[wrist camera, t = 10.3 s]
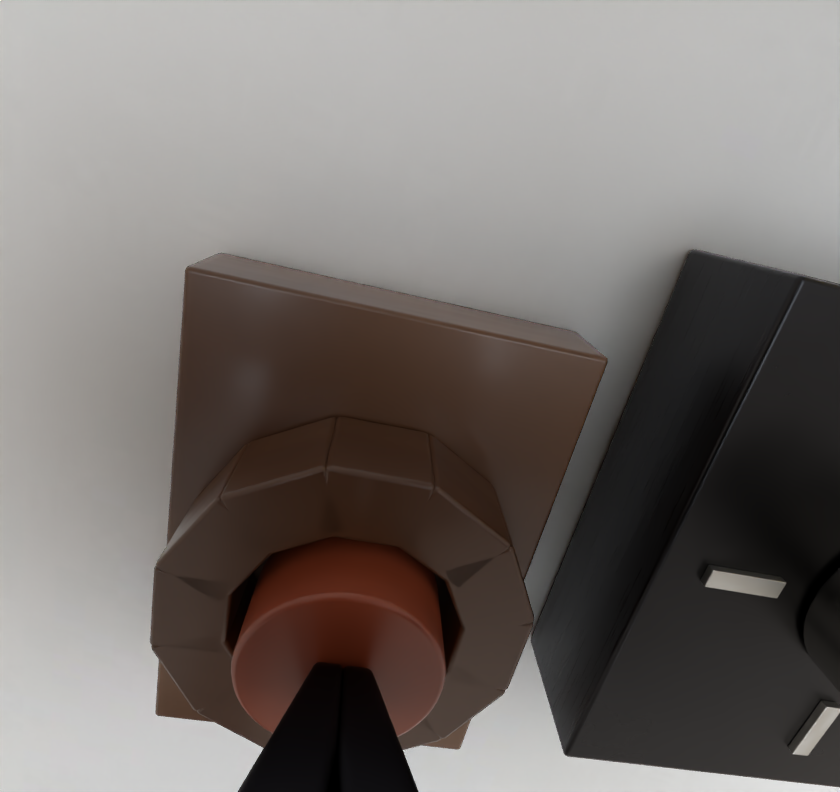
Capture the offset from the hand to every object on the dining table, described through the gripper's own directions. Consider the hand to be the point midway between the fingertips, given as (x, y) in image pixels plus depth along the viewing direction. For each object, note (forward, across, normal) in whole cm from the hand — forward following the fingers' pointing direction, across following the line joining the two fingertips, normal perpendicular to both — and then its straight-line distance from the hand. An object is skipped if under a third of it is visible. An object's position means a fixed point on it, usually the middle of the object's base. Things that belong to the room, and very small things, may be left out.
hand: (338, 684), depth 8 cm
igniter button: (+2, 0, 0) cm, 2 cm away
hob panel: (+4, -10, -2) cm, 11 cm away
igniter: (+4, 0, 0) cm, 4 cm away
